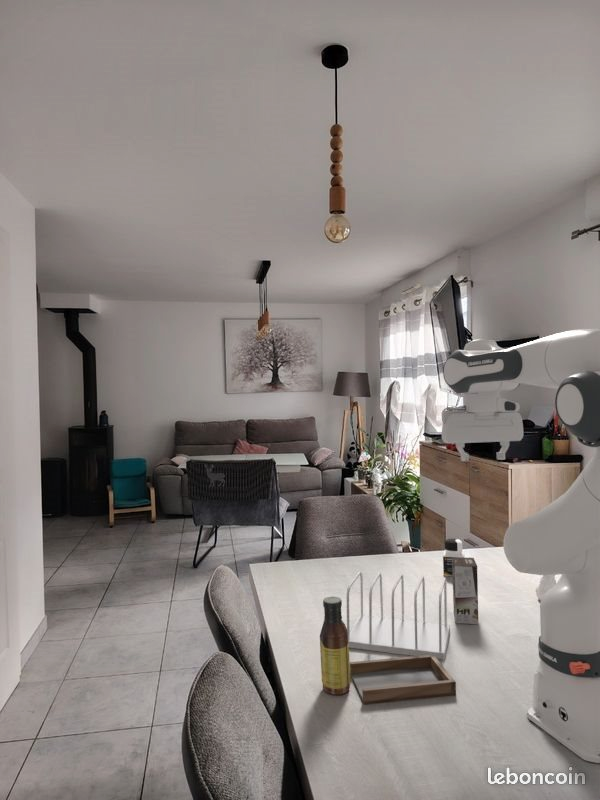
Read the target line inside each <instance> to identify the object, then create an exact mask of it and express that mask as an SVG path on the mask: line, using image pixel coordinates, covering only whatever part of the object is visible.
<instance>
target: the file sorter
mask: <svg viewBox="0 0 600 800" xmlns="http://www.w3.org/2000/svg"><path fill="white" fill-rule="evenodd" d="M359 576H360V614H359V615H358V616H357V618H356V620H355V622H353V625H352V626H351V628H350V592H351V591H350V590H351V587H352V586H353V585H354V583H355V582H356V580H357V579H358V578H359ZM363 577H364V576H363V573H362V571H358V573H356V575H355V576H354V577H353V578H352V580H351V581H350V582H349V584H348V586H347V590H346V628H347V631H348V641H349V649H350V648H351V649H358V650H365V651H372V652H380V653H388V654H396V655H404V656H410V657H412V656H423V655H434V656H435V657H436V658H437V660H445V659H446V654H447V648H448V643H449V638H450V637H449V636H450V633H451V625H450V624H447V623H448V621H447V620H448V617H447V616H448V615H447V613H448V611H447V610H448V606H447V605H448V604H447V595H448V593H447V578H446V577H447V576H446V577H443V578H442V582H441V586H440V589H439V595H438V623H435V622H428V621H427V622H426V594H425V593H426V591H425V590H426V588H425V587H426V586H425V585H426V584H425V577H424V576H422V575H421V576H420V578H419V581H418V584H417V585H416V587H415V590H414V599H413V600H414V603H413V604H414V605H413V606H414V608H413V609H414V610H413V612H414V615H413V616H414V620H410V619H405V600H404V599H405V598H404V597H405V593H404V591H405V590H404V588H405V587H404V585H405V584H404V582H405V581H404V575H403V574H400V575H399V576H398V578H397V580H396V581H395V583H394V585H393V587H392V591H391V617H384V606H383V605H384V603H383V601H384V599H383V579H382V578H383V577H382V573H381V572H378V573H377V574H376V576H375V578H374V579H373V581H372V583H371V584H370V588H369V592H368V593H369V596H368V597H369V598H368V599H369V600H368V601H369V604H368V605H369V606H368V608H369V609H368V610H369V611H368V615H365V614H364V598H363V597H364V594H363V593H364V590H363V589H364V588H363V587H364V585H363V584H364V583H363ZM378 579H379V593H380V595H379V598H380V599H379V600H380V616H373V614H372V613H373V612H372V611H373V608H372V607H373V606H372V605H373V604H372V603H373V599H372V598H373V588H374V586H375V584H376V583H377V581H378ZM400 581H401V585H400V586H401V619H400V618H395V591H396V589H397V586H398V584H399V583H400ZM421 585H422V621H420V620H419V621H418V607H417V606H418V605H417V604H418V603H417V602H418V601H417V600H418V599H417V597H418V591H419V589H420V587H421ZM443 591H444V593H443ZM442 595H444V600H443V601H444V608H443V609H444V615H443V616H444V624H443V623H442V598H443V597H442Z"/></svg>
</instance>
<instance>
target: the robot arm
mask: <svg viewBox="0 0 600 800" xmlns="http://www.w3.org/2000/svg"><path fill="white" fill-rule="evenodd" d="M442 370H443V371H442V375H443V379H444V382H445V383H446V385H447V386H448V387H449V389H451V390H452V391H453V392H454V393H456V394H462V405H455V406H454V405H448V406H447V407H446V408H444V409H443V410H442V412H441V422H442V427H441V440H442V441H443V443H445V444H455V448H456V449H457V451H458V452H459V454H460V461H461V462H469V461H470V454H469V453H466V452H465V450H464V448H465V444H470V443H471V444H472V443H473V444H474V443H493V442H494V443H496V442H498V443H499V445H500V447H501V448H500V449H499V451H498V452H497V451H496V460H498V461H499V460H501V461H503V460H506V453H507V451H508V450H509V447H510V442H520V441H522V439H523V438H524V423H523V418H522V415H521V413H519V411H520V409H521V406H520V403H519V402H516V401H512V400H509V399H506V398H502V397H501V394H500V393H501V392H509V391H512V390H516V389H518V388H519V387H520V386H521V385H528V386H529V385H530V386H536V387H541V388H548V389H556V390H557V391H556V394H555V399H554V403H555V404H554V406H555V411H556V415H557V417H558V419H559V421H560V422H561V424H562V425H563V426H564V427H565V428H566V430H568V432H569V433H570V434H571V435H573V436H575V437H576V439H577V441H578V442H579V443H581V445H584V446H587V447H590V448H595V451H594V454H593V455H592V458H591V459H590V460H589V461H588V463H587V464H585V466H584V468H583V469H582V470H581V472H580V473H579V475H578V476H577V477H576V479H575V480H574V482H573V483H572V484H571V485H570V486H569V488H568V489H567V490H566V492H564V493H563V494H562V495H560V496H559V497H558V498H556V499H555V500H554V501H552V502H550V503H548V505H546V506H544V507H543V508H541V509H540V510H538V511H537V512H535V513H533V514H532V515H530V516H528V517H526V518H523V519H521V520H518V521H516V522H513V523H511V524H510V525H509V526H508V527H507V529H506V531H505V533H504V536H503V543H502V544H503V551H504V556H505V557H506V559H507V561H508V563H509V564H510V566H512V567H513V569H514V570H516V571H517V572H519V573H523V574H529V575H536V576H537V575H538V576H543V575H544V576H545V575H555V576H556V575H560V578H559V579H558V580H557V581H556V584H555V585H554V586H553V587H552V588H551V589H549V590H548V591H547V592H546V593H545V594H544V595H543V597H542V599H541V601H540V602H539V617H540V619H539V621H540V622H539V623H540V624H539V625H540V635H539V636H538V644H537V649H538V657H539V659H540V660H539V664H538V667H537V669H536V670H535V672H534V675H533V689H532V690H533V691H532V705H531V707H530V708H529V709H528V710H527V714H526V715H527V719H528V720H530V721H531V722H532V723H534V724H535V725H537V726H538V727H539V728H540V729H542V730H543V731H544V732H546V733H547V734H548V735H550V736H551V737H553V738H554V739H555V740H557V741H558V742H559V743H561V745H563V746H565V747H566V748H567V749H568V750H570V751H571V752H572V753H574V754H575V755H576V756H578V757H580V758H581V759H582V760H584V761H586V762H591V763H595V764H600V328H579V329H578V328H577V329H571V330H566V331H562V332H558V333H557V332H556V333H554V334H551V335H547V336H545V337H542V338H537V339H535V340H533V341H532V340H531V341H529V342H525V343H522V344H518V345H516V346H511V347H509V348H506V349H505V348H503V347H501V346H499V345H498V344H497V342H496V340H494V339H491V338H479V339H478V338H477V339H473V340H471V341H469V342H467V343H466V344H465V345H464V348H463V349H456V350H454V351H453V352H452V353H451V354H450V355H449V356H448V357H447V358H446V360H445V361H444V364H443V368H442Z"/></svg>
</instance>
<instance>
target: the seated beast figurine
mask: <svg viewBox="0 0 600 800" xmlns="http://www.w3.org/2000/svg"><path fill="white" fill-rule="evenodd" d="M555 576H556V575H545V576H544V575H542V576H541V577H540V579H539V584H538V586H537V587H536V588H535V594H536V597H537V599H539V601H540V602H541V599H542V597H543V595H544V594H545V593H546V592H547V591H548V590H549V589H551V588H552V587H553V586H554V585H555V584H556V583H557V580H556V577H555Z"/></svg>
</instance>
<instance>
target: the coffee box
mask: <svg viewBox="0 0 600 800" xmlns="http://www.w3.org/2000/svg"><path fill="white" fill-rule="evenodd" d="M452 574H453V576H452V597H453V598H452V601H453V603H452V604H453V614H454V621H455V623H456V624H467V625H470V624H471V625H479V591H478V590H479V589H478V588H479V585H478V584H479V582H478V564H477V562H476V560H475V558H474V557H464V558H452Z"/></svg>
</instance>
